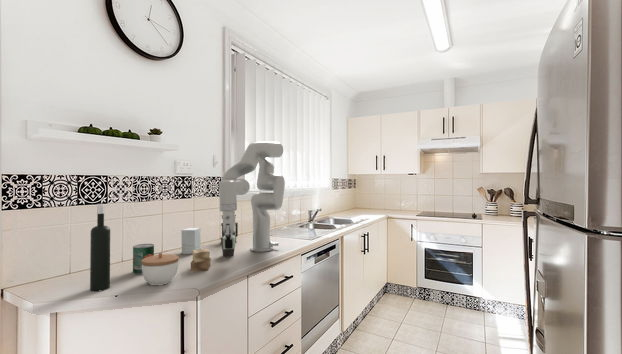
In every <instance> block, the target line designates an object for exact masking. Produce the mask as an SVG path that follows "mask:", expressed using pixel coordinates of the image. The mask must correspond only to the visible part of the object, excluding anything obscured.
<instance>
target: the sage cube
mask: <svg viewBox="0 0 622 354" xmlns="http://www.w3.org/2000/svg"><path fill="white" fill-rule="evenodd" d="M235 235H236V234H235ZM235 235H232V245H233V247H232V248H230V249H234V250H235V249H236V243H235ZM223 249H225V236H224V237H223Z"/></svg>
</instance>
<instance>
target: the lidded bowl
mask: <svg viewBox="0 0 622 354" xmlns="http://www.w3.org/2000/svg"><path fill="white" fill-rule="evenodd" d="M179 260H180V259H179V255H177V254H172V253H171V254H165V253H164V254H163V252H159V253H158V254H156V255H155V254H154V256H150V257H146V258H144V259H142V260H141V264H142V274H141V275H142V276H143V279H144V280H145V281H146V282H147V283H149V285H150V286H152V285H159V286H164V285H163V284H165V285H167V283H168V284H169V282H170V283H171V281H172V280H173V279H174V278H175V276H176V275H177V272H178V267H179Z"/></svg>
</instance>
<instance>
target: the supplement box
mask: <svg viewBox="0 0 622 354" xmlns="http://www.w3.org/2000/svg"><path fill="white" fill-rule="evenodd" d="M180 231H181V255H193V250H199V249H202V248H201V240H202V239H201V227H187V228H184V229H181V230H180Z"/></svg>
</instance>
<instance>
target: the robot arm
mask: <svg viewBox="0 0 622 354" xmlns="http://www.w3.org/2000/svg"><path fill="white" fill-rule="evenodd" d="M283 154H284V146H283V144H282V143H280V142H279V141H254V142H251V143H249V144H247V147H246V149H245V151H244V153H243V154H242V157H241V159H240V160H239V161H238V162H237V163H235V164H234V165H232V166H231V167H230V168H229V169H227V170H226V171H225V172H224V174H223V177H222V178H221V181H219V182H218V183H219V184H218V190H219V191H218V192H219V212H222V215H223V219H222V223H223V232H224V233H225V249H230V248H232V247H233V245H232V235H233V233H234V232H235V233H236V226H235V222H236V216H235V215H236V212H235V211H237V209H238V204H237V202H238V201H237V196H238V195H239V196H244V195H246V194H247V193H248V192H250V188H251V185H250V183H249V181H248V180H246V179H243V178H240V177H243V176H245V175H249V173H253V172H254V171H255V170H256V168H257V166H258V172H257V173H258V174H257V180H256V188H257V190H259V191H264V192H255V193H253V195H251V198H250V204H251V210H252V246H250V247H249V250H250V252H255V253H256V252H257V253H259V252H260V253H264V252H265V253H266V252H269V251H272V250H274V247H278V246H279V242H276V241H272V240H271V216H270V213H269V211H278V210H281V208H282V206H283V201H284V194H285V188H286V187H285V186H286V181H285V177H284V176H283V175H282V174H279V173H274V172H275V171H274V170H275V166H274V163H273V161H272V160H271V159H270V158H273V159H275V158H281V157H282V156H283Z"/></svg>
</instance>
